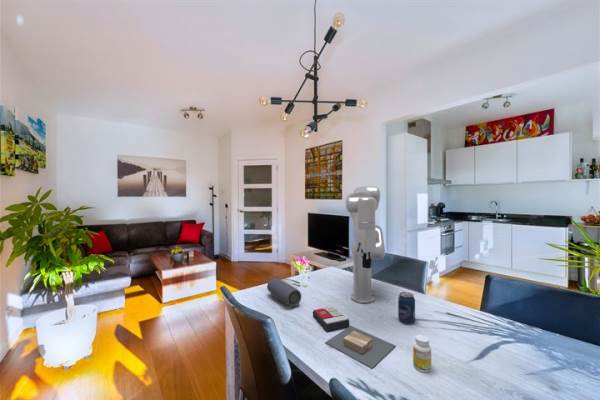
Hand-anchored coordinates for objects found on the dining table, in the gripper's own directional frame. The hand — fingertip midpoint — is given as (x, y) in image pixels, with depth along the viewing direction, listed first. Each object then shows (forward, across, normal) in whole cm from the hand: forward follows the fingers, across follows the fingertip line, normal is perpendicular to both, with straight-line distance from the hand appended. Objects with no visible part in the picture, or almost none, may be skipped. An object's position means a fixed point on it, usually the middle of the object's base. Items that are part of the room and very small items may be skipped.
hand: (366, 267), depth 108 cm
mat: (+25, +15, +6) cm, 30 cm away
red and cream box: (+26, +10, -13) cm, 30 cm away
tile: (+23, +13, +6) cm, 27 cm away
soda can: (+25, -15, +11) cm, 31 cm away
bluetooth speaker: (+25, +10, -45) cm, 53 cm away
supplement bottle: (+25, +11, +27) cm, 39 cm away
